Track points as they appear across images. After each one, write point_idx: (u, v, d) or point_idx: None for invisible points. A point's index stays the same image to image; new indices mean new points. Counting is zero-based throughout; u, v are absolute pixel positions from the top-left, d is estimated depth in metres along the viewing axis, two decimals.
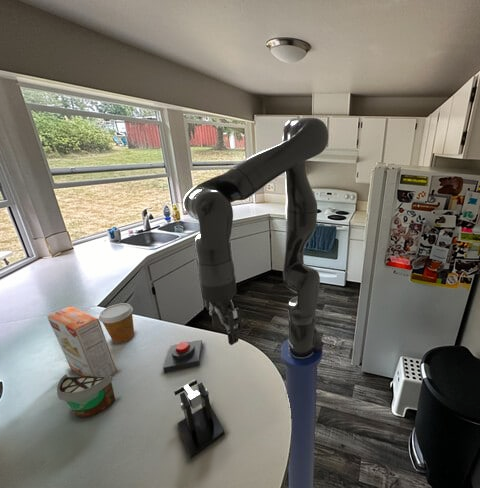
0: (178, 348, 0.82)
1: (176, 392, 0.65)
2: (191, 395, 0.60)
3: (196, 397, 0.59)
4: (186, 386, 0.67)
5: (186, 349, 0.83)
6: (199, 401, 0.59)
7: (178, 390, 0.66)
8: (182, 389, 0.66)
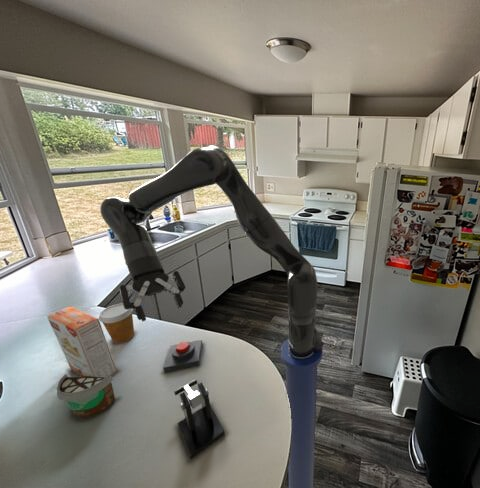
0: (178, 348, 0.82)
1: (176, 392, 0.65)
2: (191, 395, 0.60)
3: (196, 397, 0.59)
4: (186, 386, 0.67)
5: (186, 349, 0.83)
6: (199, 401, 0.59)
7: (178, 390, 0.66)
8: (182, 389, 0.66)
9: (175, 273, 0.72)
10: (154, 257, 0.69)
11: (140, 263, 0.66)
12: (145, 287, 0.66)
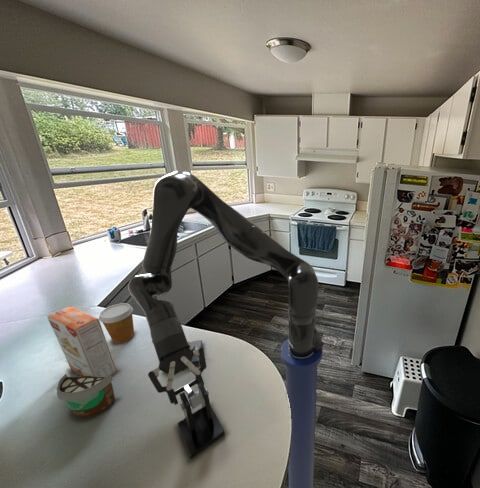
0: None
1: (176, 392, 0.65)
2: (191, 395, 0.60)
3: (196, 397, 0.59)
4: (186, 386, 0.67)
5: None
6: (199, 401, 0.59)
7: (178, 390, 0.66)
8: (182, 389, 0.66)
9: (200, 350, 0.72)
10: (179, 334, 0.69)
11: (166, 344, 0.67)
12: (172, 368, 0.66)
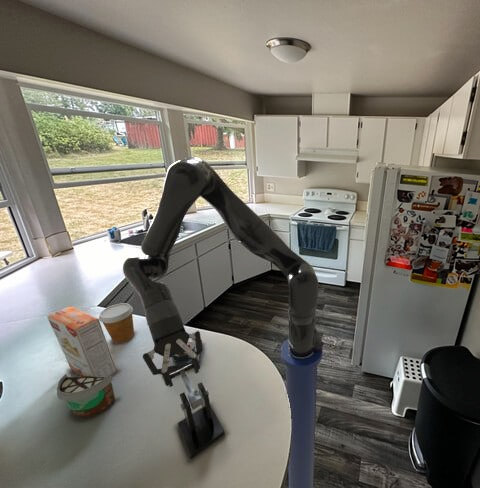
0: None
1: (172, 377, 0.64)
2: (192, 396, 0.59)
3: (198, 400, 0.59)
4: (182, 371, 0.65)
5: None
6: (199, 403, 0.59)
7: (174, 375, 0.64)
8: (178, 374, 0.65)
9: (196, 333, 0.70)
10: (175, 317, 0.68)
11: (161, 326, 0.65)
12: (167, 351, 0.65)
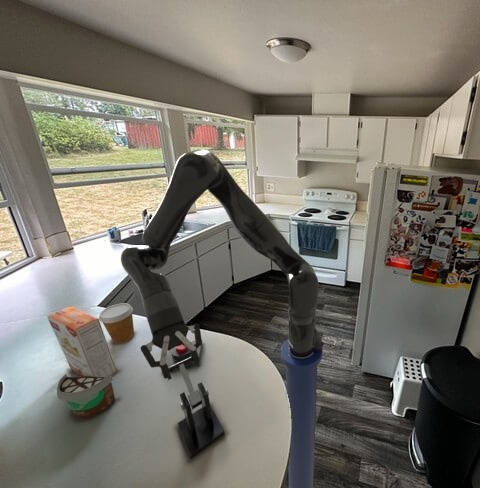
0: (178, 348, 0.82)
1: (171, 370, 0.63)
2: (192, 397, 0.59)
3: (198, 402, 0.59)
4: (181, 365, 0.64)
5: (186, 349, 0.83)
6: (199, 403, 0.60)
7: (173, 368, 0.63)
8: (177, 367, 0.64)
9: (196, 326, 0.69)
10: (174, 309, 0.66)
11: (159, 317, 0.64)
12: (166, 343, 0.63)
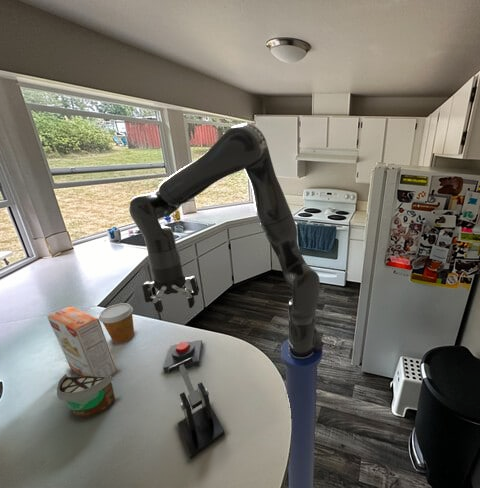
0: (178, 348, 0.82)
1: (171, 371, 0.63)
2: (192, 397, 0.59)
3: (198, 402, 0.59)
4: (181, 366, 0.64)
5: (186, 349, 0.83)
6: (199, 403, 0.60)
7: (173, 369, 0.63)
8: (177, 368, 0.64)
9: (191, 281, 0.76)
10: (172, 268, 0.71)
11: (158, 274, 0.70)
12: (162, 290, 0.74)
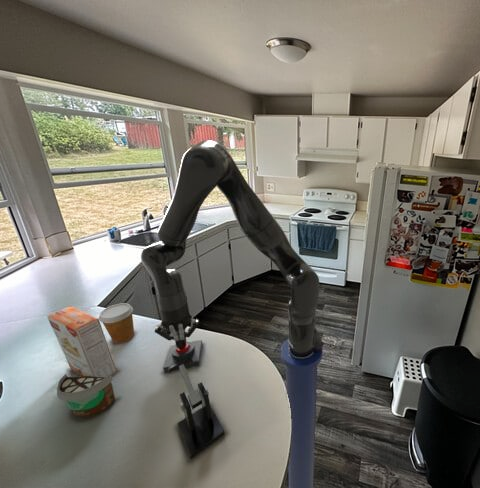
0: (178, 349, 0.82)
1: (171, 371, 0.63)
2: (192, 397, 0.59)
3: (198, 402, 0.59)
4: (181, 366, 0.64)
5: (186, 350, 0.83)
6: (199, 403, 0.60)
7: (173, 369, 0.63)
8: (177, 368, 0.64)
9: (195, 324, 0.81)
10: (179, 310, 0.75)
11: (166, 315, 0.74)
12: (172, 329, 0.78)
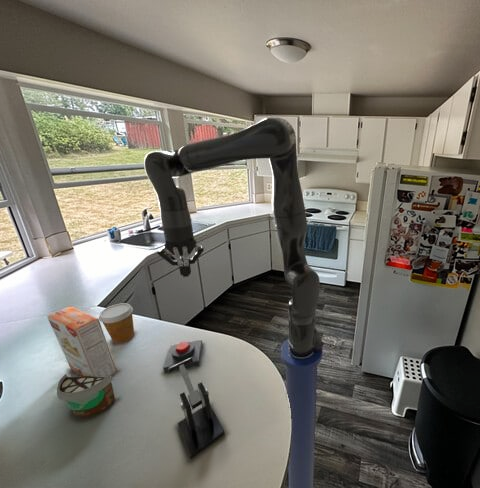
0: (178, 348, 0.82)
1: (171, 371, 0.63)
2: (192, 397, 0.59)
3: (198, 402, 0.59)
4: (181, 366, 0.64)
5: (186, 349, 0.83)
6: (199, 403, 0.60)
7: (173, 369, 0.63)
8: (177, 368, 0.64)
9: (200, 250, 0.77)
10: (184, 229, 0.72)
11: (170, 233, 0.70)
12: (176, 252, 0.74)
